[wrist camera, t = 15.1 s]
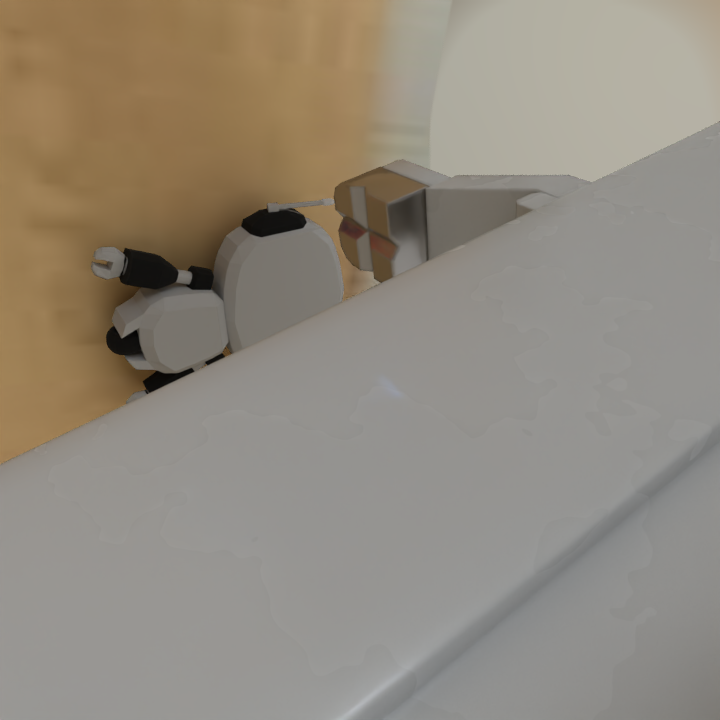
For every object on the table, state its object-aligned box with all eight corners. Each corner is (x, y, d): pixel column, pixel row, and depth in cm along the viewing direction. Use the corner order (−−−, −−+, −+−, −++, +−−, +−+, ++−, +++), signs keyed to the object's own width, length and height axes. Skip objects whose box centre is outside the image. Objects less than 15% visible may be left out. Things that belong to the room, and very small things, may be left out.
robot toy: (117, 404, 42) (320, 341, 48) (135, 443, 39) (351, 370, 45) (70, 225, 35) (313, 179, 42) (88, 254, 32) (349, 200, 38)
